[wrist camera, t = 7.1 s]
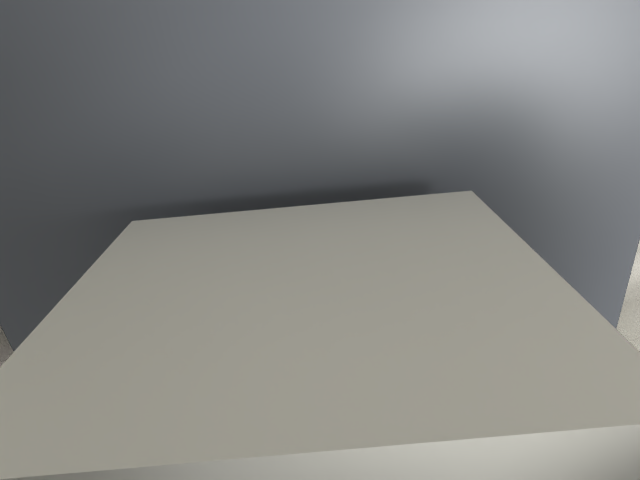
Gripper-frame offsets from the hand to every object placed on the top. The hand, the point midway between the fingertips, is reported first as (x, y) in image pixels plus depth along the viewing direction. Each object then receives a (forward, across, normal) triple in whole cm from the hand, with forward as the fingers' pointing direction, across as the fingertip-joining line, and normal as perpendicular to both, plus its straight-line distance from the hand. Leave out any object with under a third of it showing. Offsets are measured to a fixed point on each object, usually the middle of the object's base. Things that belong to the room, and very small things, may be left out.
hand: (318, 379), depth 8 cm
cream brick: (+1, 0, 0) cm, 1 cm away
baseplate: (+4, 0, 0) cm, 4 cm away
